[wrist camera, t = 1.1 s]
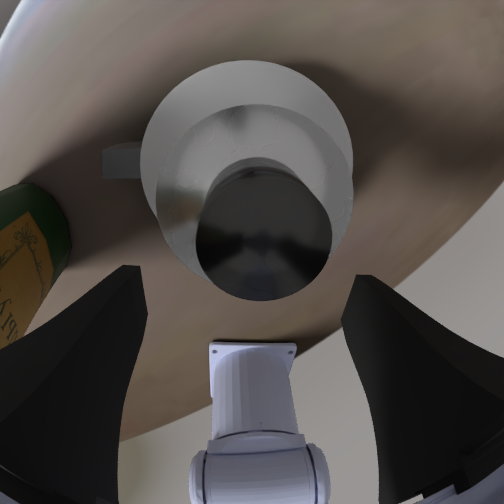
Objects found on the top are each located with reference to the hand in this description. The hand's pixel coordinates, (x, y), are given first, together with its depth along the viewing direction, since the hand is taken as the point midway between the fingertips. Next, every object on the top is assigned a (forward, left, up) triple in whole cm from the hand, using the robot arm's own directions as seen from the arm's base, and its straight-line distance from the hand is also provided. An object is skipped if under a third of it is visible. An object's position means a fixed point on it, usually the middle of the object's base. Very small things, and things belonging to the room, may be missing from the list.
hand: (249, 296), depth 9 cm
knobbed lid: (+3, 0, -2) cm, 4 cm away
